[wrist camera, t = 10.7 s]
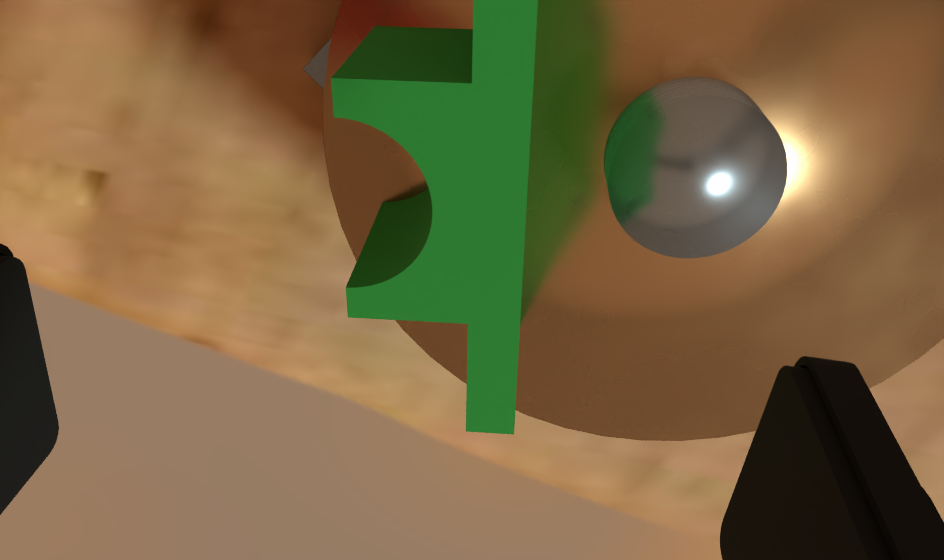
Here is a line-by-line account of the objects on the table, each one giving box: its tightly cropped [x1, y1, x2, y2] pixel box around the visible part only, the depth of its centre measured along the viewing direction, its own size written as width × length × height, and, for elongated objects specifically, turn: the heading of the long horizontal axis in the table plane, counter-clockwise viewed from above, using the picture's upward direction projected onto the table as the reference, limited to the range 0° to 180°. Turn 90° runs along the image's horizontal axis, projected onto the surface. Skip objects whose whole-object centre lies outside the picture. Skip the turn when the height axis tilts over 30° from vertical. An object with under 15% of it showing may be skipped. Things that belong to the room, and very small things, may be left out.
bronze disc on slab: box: [303, 0, 944, 441], centre depth 22 cm, size 18×18×10 cm
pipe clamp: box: [331, 0, 538, 434], centre depth 18 cm, size 11×4×5 cm, turn 179°
